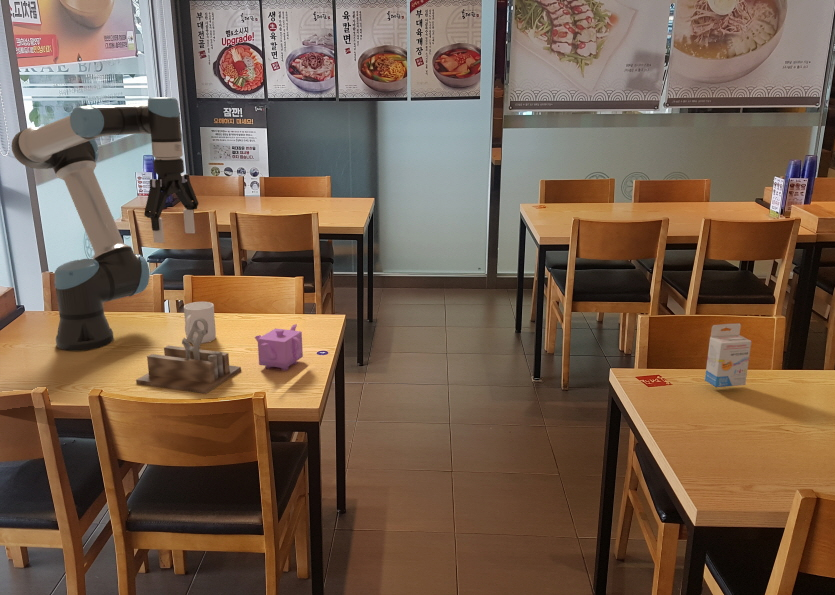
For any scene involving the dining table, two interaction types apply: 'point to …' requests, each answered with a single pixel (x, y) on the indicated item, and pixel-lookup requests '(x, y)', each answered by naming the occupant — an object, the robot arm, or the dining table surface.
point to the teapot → (280, 348)
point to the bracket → (196, 342)
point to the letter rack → (188, 370)
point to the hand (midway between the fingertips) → (175, 237)
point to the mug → (200, 311)
